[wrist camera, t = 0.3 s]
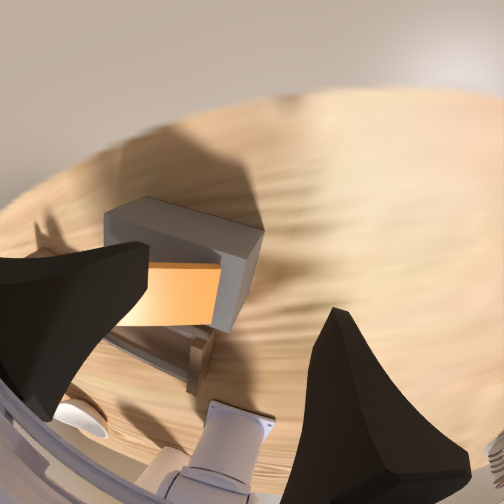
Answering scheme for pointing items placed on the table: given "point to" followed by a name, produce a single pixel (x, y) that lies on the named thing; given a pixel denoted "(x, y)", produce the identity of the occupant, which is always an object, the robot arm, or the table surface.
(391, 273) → the table surface
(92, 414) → the spoon rest
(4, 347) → the robot arm
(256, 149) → the table surface
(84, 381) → the table surface
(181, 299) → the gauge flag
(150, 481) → the foam cup
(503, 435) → the french press
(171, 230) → the box
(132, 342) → the rail
